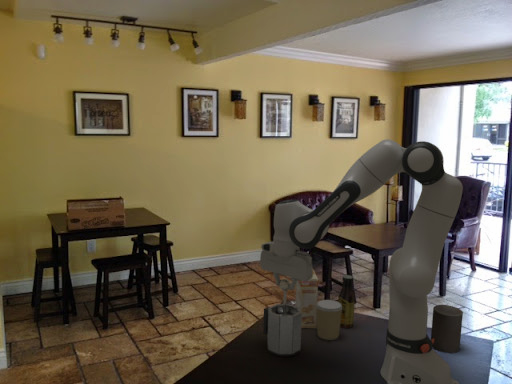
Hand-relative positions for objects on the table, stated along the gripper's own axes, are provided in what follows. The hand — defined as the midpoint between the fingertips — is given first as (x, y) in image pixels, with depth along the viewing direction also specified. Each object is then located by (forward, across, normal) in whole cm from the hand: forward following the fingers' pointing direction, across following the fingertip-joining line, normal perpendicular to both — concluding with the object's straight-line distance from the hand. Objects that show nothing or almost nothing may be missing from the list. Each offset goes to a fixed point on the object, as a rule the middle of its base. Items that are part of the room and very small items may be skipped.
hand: (285, 287), depth 152 cm
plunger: (+12, 0, 0) cm, 12 cm away
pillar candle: (+22, -40, -41) cm, 61 cm away
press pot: (+22, +1, 0) cm, 22 cm away
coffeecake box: (+22, +9, -25) cm, 35 cm away
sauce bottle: (+22, -5, -32) cm, 39 cm away
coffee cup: (+22, -5, -20) cm, 30 cm away
